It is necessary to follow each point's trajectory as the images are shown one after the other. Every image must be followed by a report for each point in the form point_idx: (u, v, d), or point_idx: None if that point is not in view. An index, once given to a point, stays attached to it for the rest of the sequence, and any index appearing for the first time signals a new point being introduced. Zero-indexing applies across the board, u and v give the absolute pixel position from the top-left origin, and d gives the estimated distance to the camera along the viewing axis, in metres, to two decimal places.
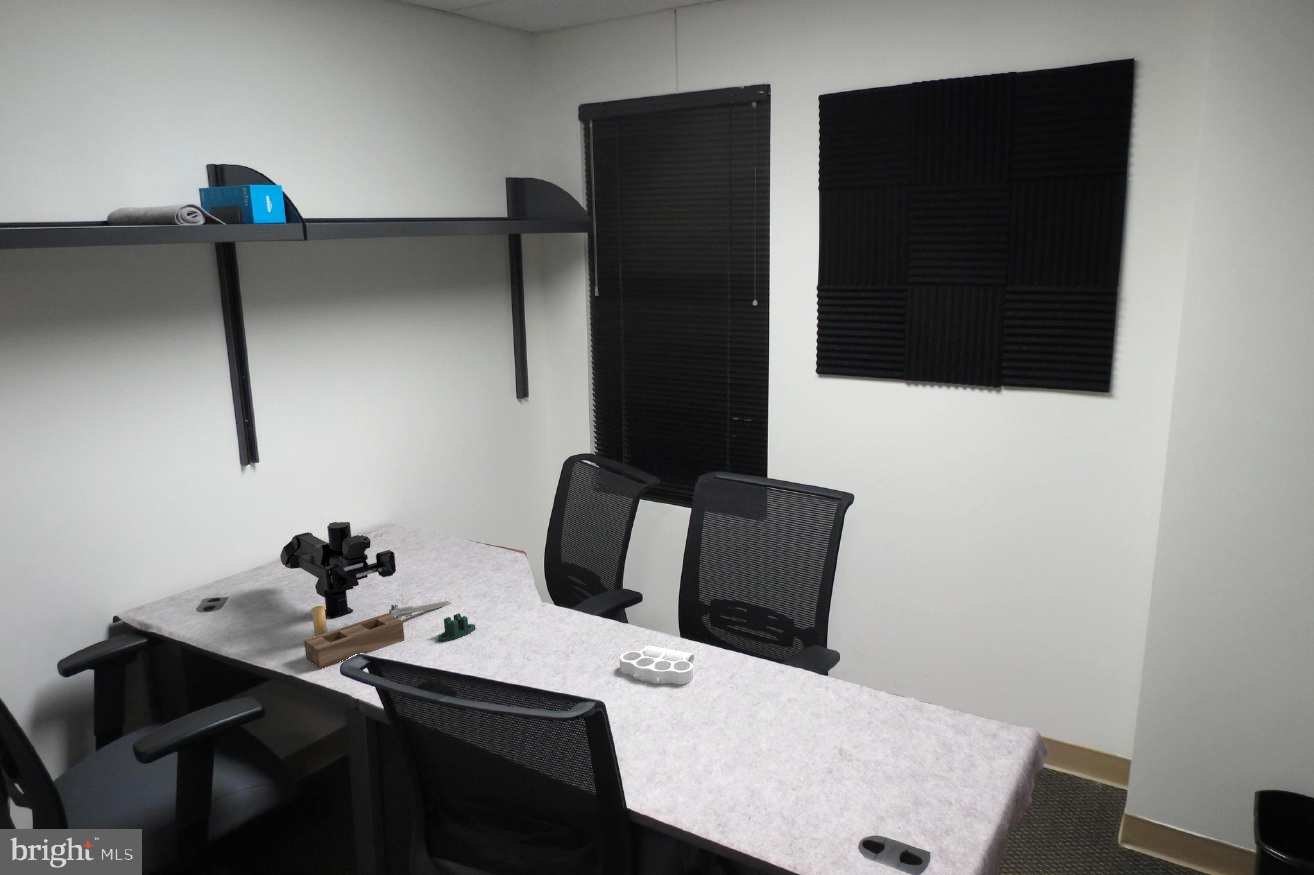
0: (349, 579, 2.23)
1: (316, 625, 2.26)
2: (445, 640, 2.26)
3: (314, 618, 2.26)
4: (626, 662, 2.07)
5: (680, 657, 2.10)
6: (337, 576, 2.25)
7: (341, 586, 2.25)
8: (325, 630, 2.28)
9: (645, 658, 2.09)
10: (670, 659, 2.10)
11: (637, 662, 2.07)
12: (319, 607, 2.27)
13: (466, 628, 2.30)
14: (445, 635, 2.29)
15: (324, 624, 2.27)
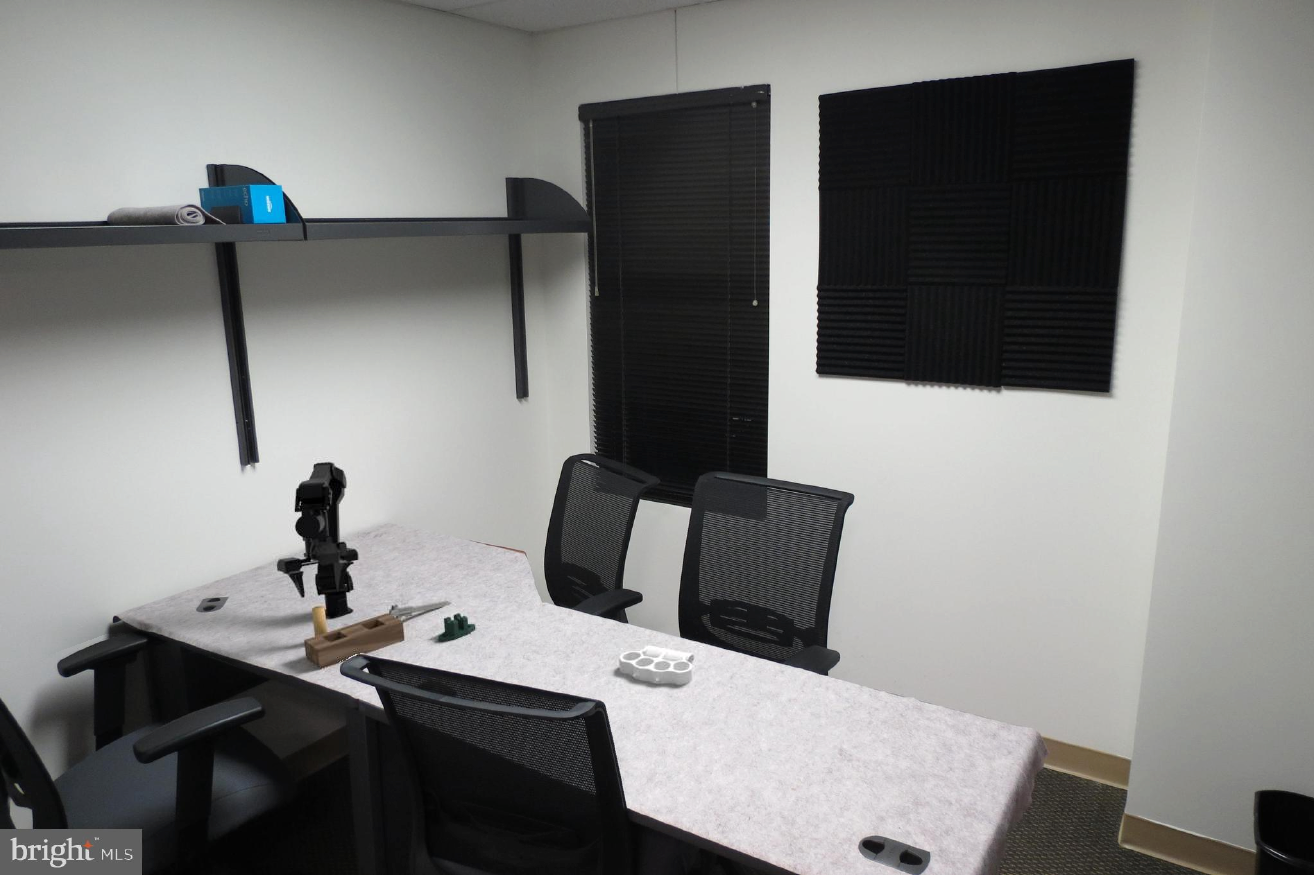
0: (299, 588, 2.21)
1: (316, 625, 2.26)
2: (445, 640, 2.26)
3: (314, 618, 2.26)
4: (626, 662, 2.07)
5: (680, 657, 2.10)
6: None
7: (290, 575, 2.22)
8: (325, 630, 2.28)
9: (645, 658, 2.08)
10: (670, 659, 2.10)
11: (637, 662, 2.07)
12: (319, 607, 2.27)
13: (466, 628, 2.30)
14: (445, 635, 2.29)
15: (324, 624, 2.27)
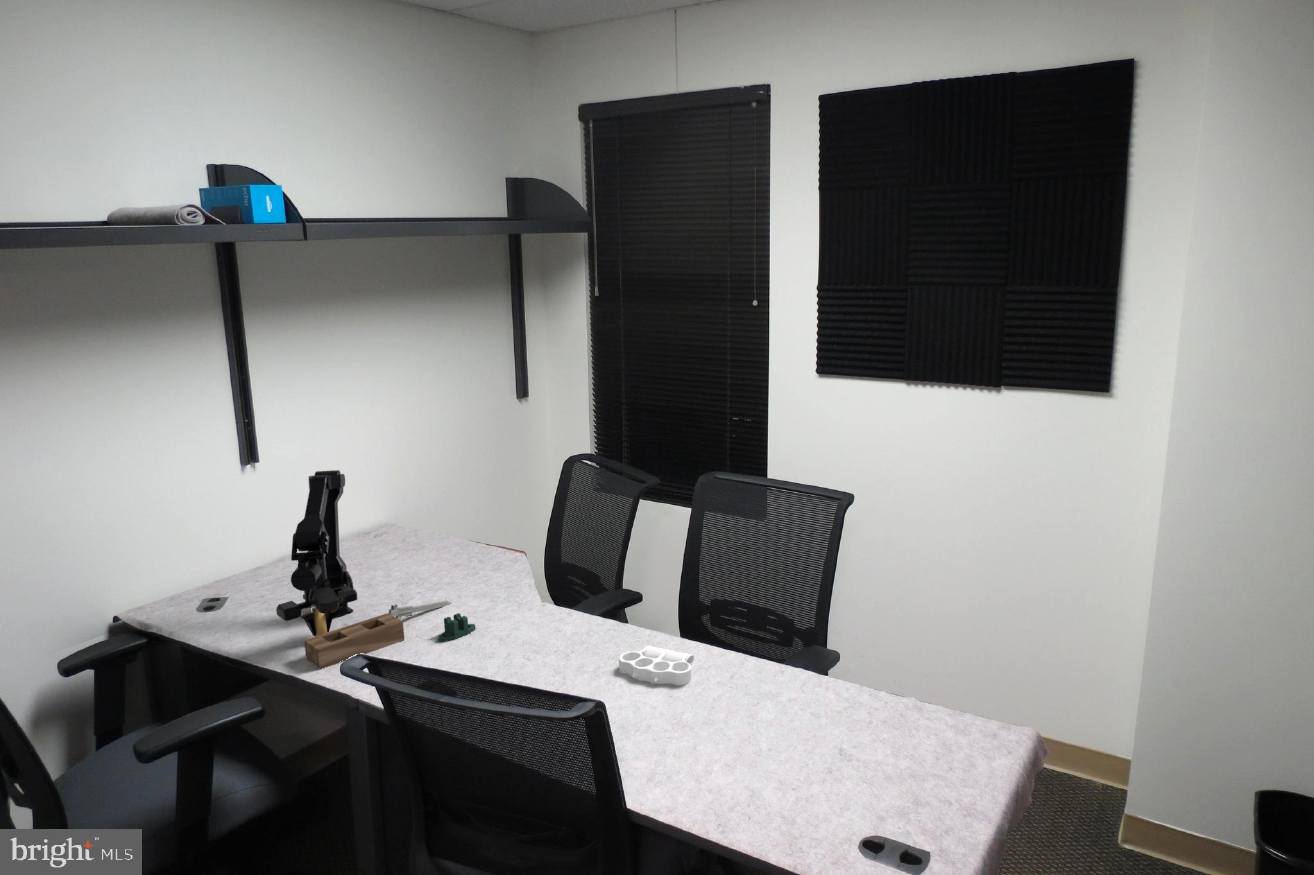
0: (311, 628, 2.25)
1: (316, 625, 2.26)
2: (445, 640, 2.26)
3: (314, 618, 2.26)
4: (625, 662, 2.07)
5: (679, 658, 2.09)
6: None
7: None
8: (325, 630, 2.28)
9: (644, 658, 2.08)
10: (669, 660, 2.10)
11: (636, 662, 2.07)
12: None
13: (466, 628, 2.30)
14: (445, 635, 2.29)
15: (324, 624, 2.27)
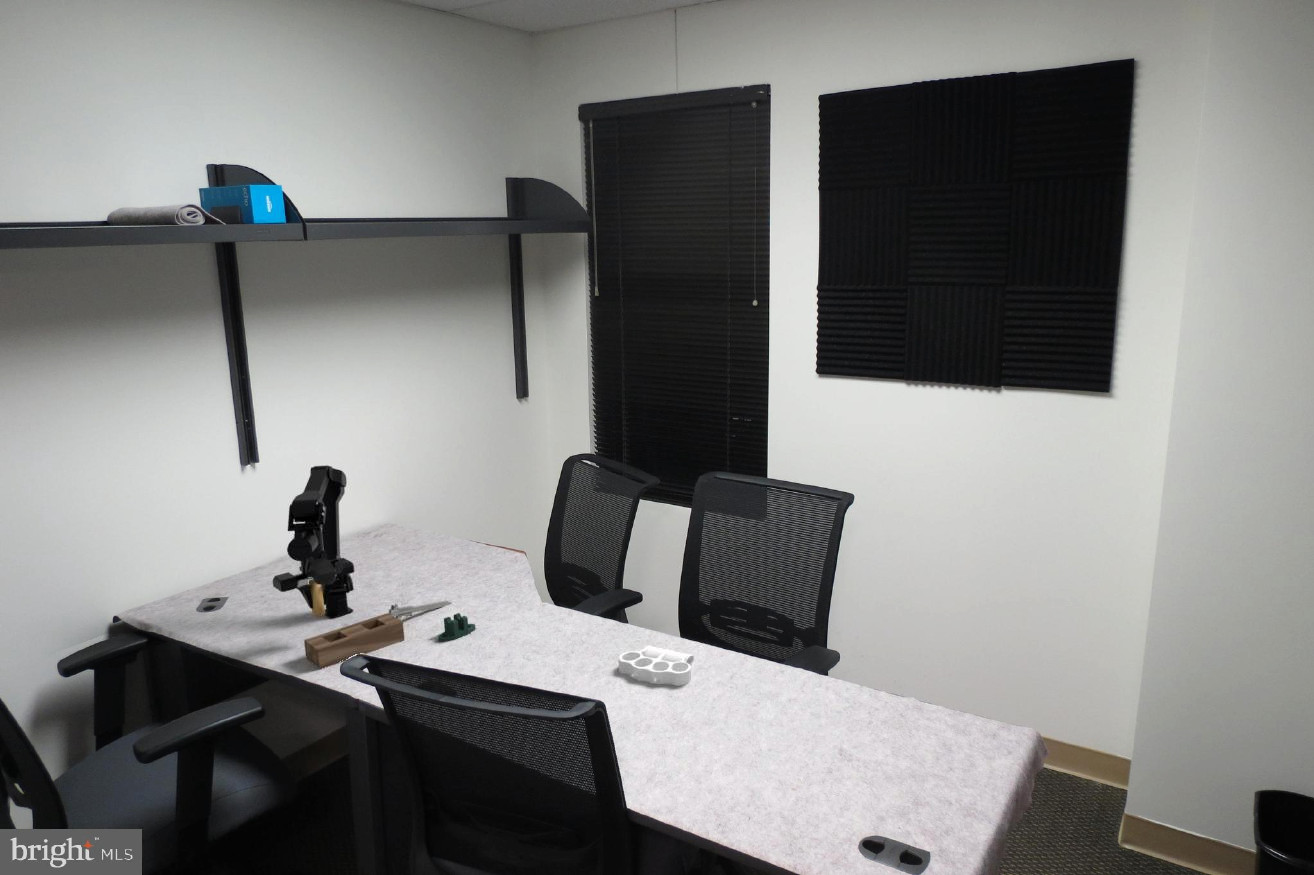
0: (307, 600, 2.24)
1: (312, 598, 2.25)
2: (445, 640, 2.26)
3: (311, 590, 2.24)
4: (624, 662, 2.07)
5: (679, 658, 2.09)
6: None
7: None
8: (322, 602, 2.26)
9: (644, 658, 2.08)
10: (669, 660, 2.10)
11: (636, 662, 2.07)
12: None
13: (466, 628, 2.30)
14: (445, 635, 2.29)
15: (321, 596, 2.25)
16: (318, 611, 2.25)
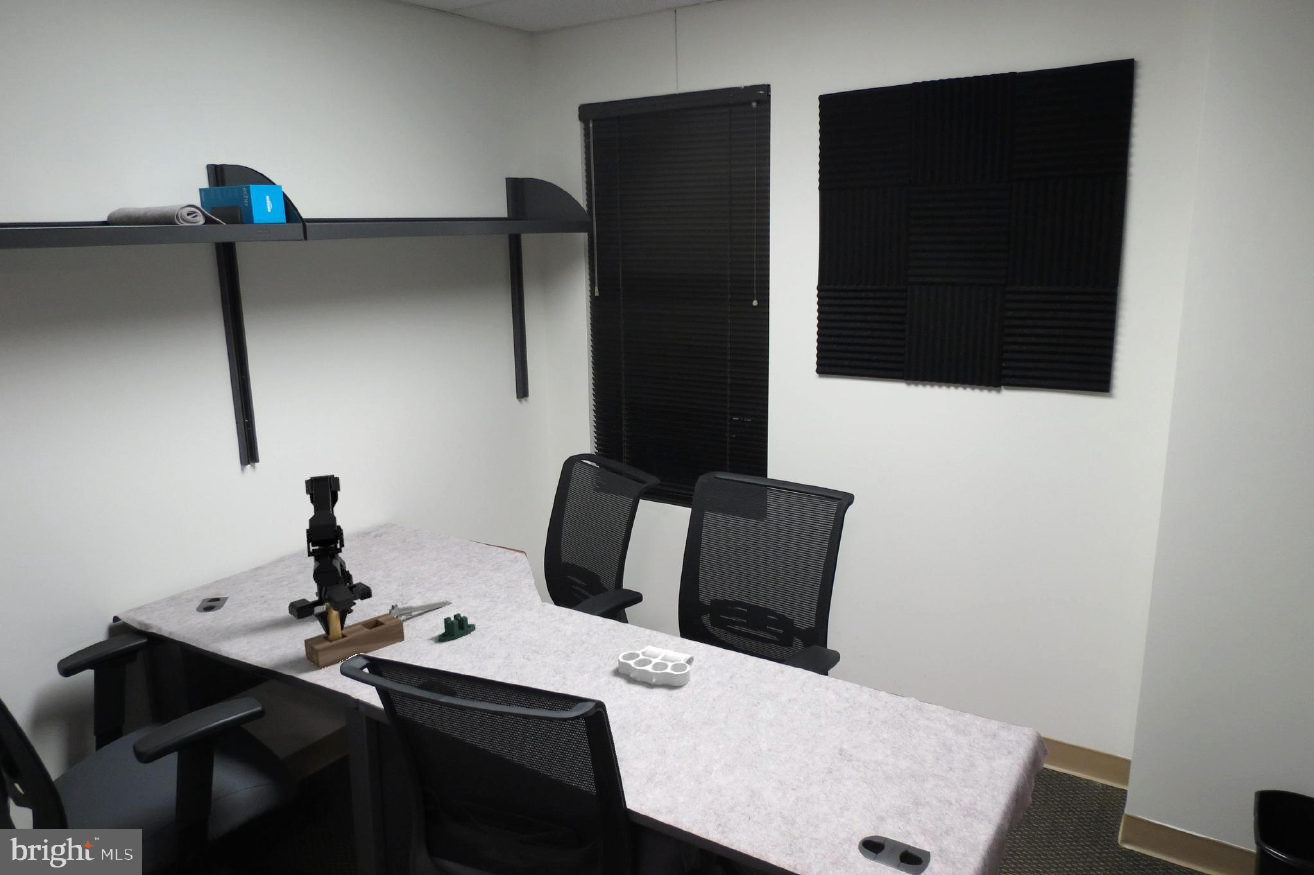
0: (324, 627, 2.16)
1: (329, 624, 2.17)
2: (445, 640, 2.26)
3: (327, 616, 2.17)
4: (624, 662, 2.07)
5: (679, 659, 2.09)
6: None
7: None
8: (339, 629, 2.18)
9: (643, 659, 2.08)
10: (669, 660, 2.09)
11: (635, 662, 2.07)
12: None
13: (466, 628, 2.30)
14: (445, 635, 2.29)
15: (338, 622, 2.18)
16: (335, 637, 2.18)
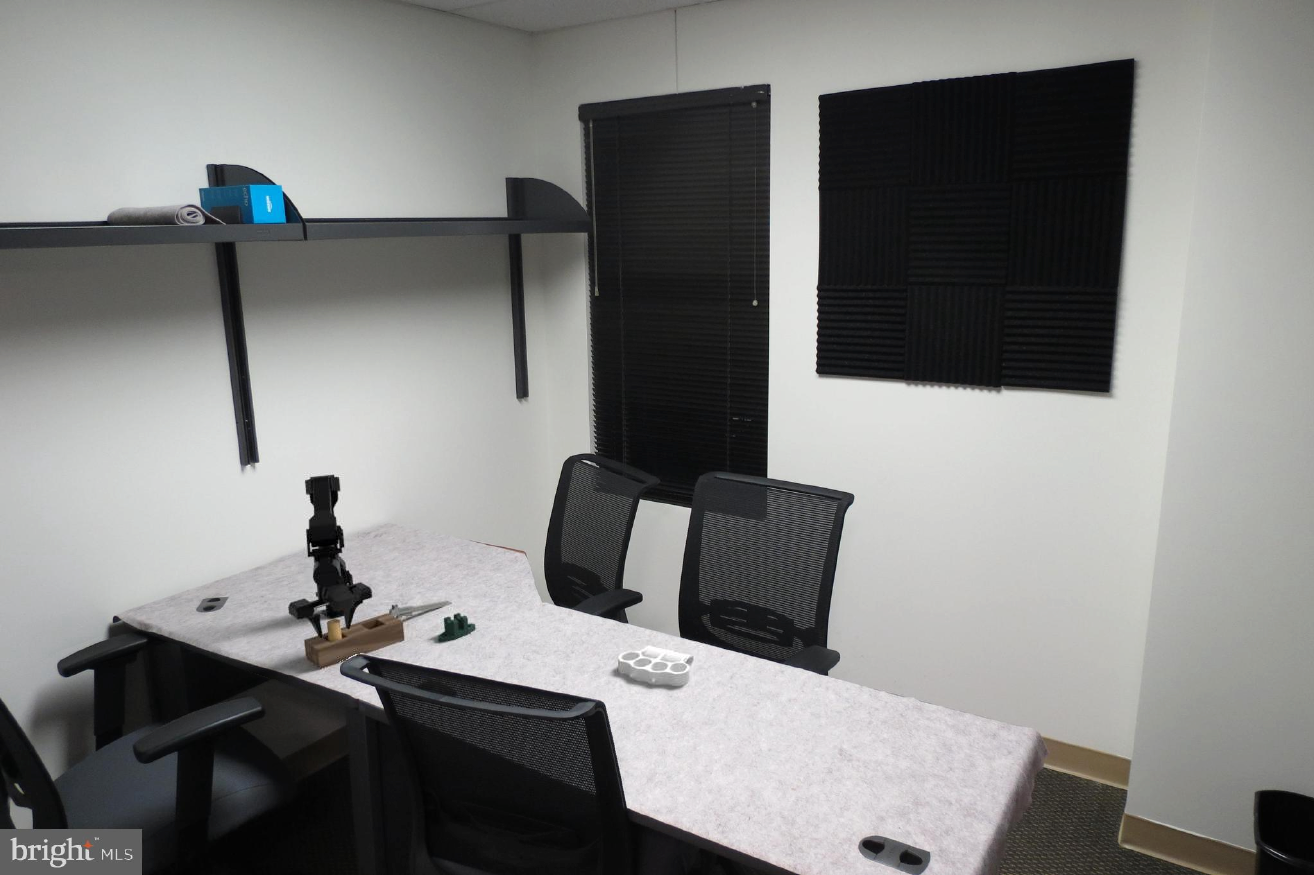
0: (317, 629, 2.15)
1: (331, 640, 2.18)
2: (445, 639, 2.26)
3: (329, 632, 2.18)
4: (624, 662, 2.07)
5: (678, 659, 2.09)
6: None
7: None
8: None
9: (643, 658, 2.08)
10: (668, 660, 2.09)
11: (635, 662, 2.07)
12: (334, 620, 2.19)
13: (466, 627, 2.30)
14: (445, 634, 2.29)
15: (339, 638, 2.19)
16: None
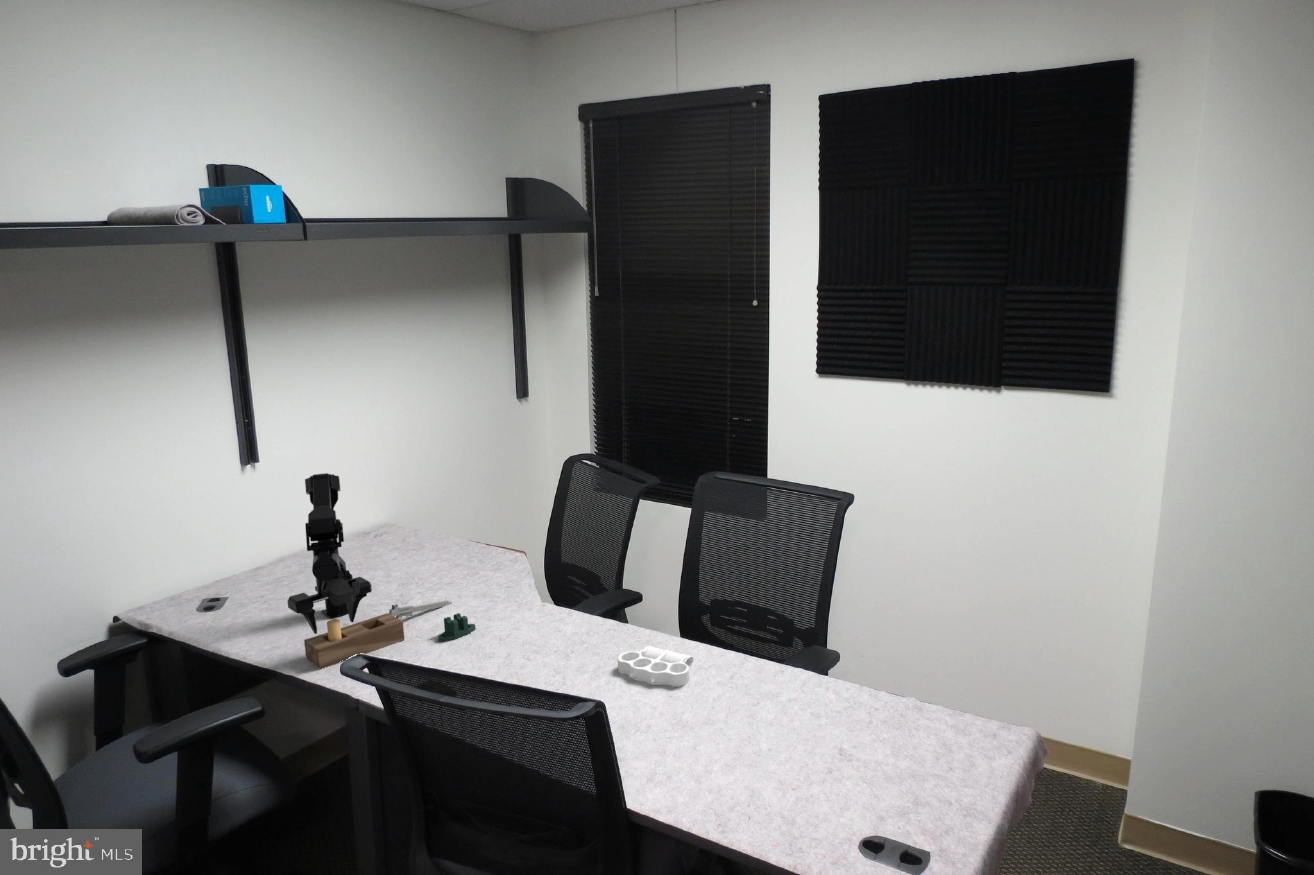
0: (311, 625, 2.14)
1: (331, 639, 2.18)
2: (445, 640, 2.26)
3: (329, 632, 2.18)
4: (623, 662, 2.07)
5: (678, 659, 2.09)
6: None
7: None
8: None
9: (643, 659, 2.08)
10: (668, 661, 2.09)
11: (634, 662, 2.07)
12: (334, 620, 2.19)
13: (466, 628, 2.30)
14: (445, 635, 2.29)
15: (339, 638, 2.19)
16: None
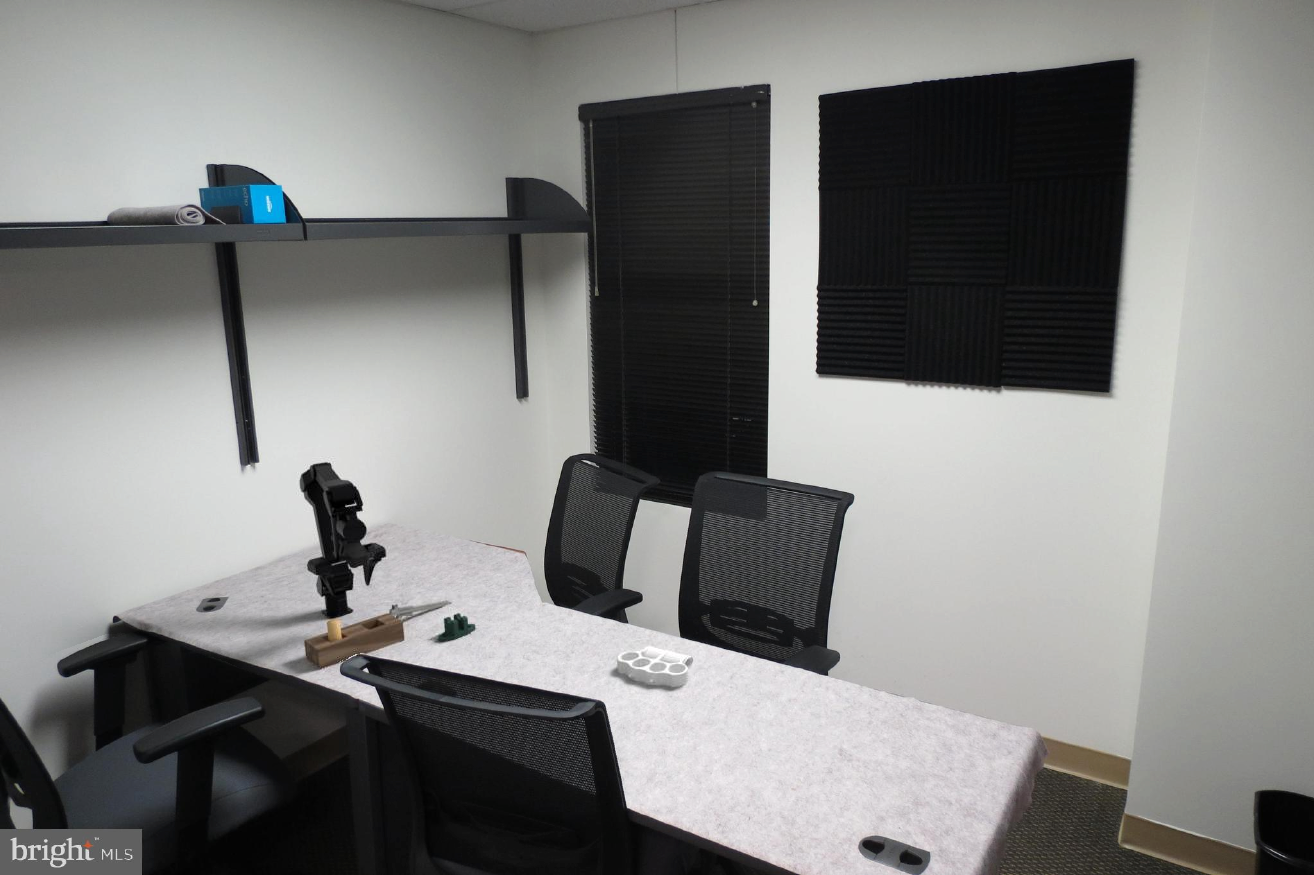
0: (329, 587, 2.25)
1: (331, 639, 2.18)
2: (445, 640, 2.26)
3: (329, 632, 2.18)
4: (623, 662, 2.07)
5: (678, 659, 2.08)
6: None
7: None
8: None
9: (642, 659, 2.08)
10: (668, 661, 2.09)
11: (634, 662, 2.07)
12: (334, 620, 2.19)
13: (466, 628, 2.30)
14: (445, 635, 2.29)
15: (339, 638, 2.19)
16: None
